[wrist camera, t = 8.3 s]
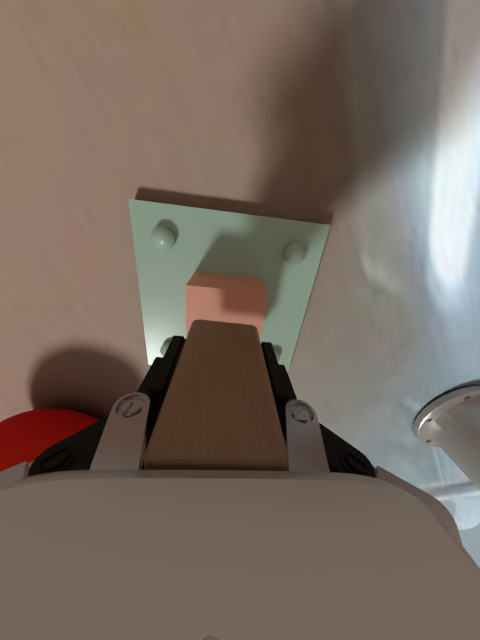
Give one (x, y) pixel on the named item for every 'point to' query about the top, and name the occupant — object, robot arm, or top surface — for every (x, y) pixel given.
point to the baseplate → (222, 266)
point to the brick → (225, 299)
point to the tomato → (37, 433)
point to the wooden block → (218, 406)
